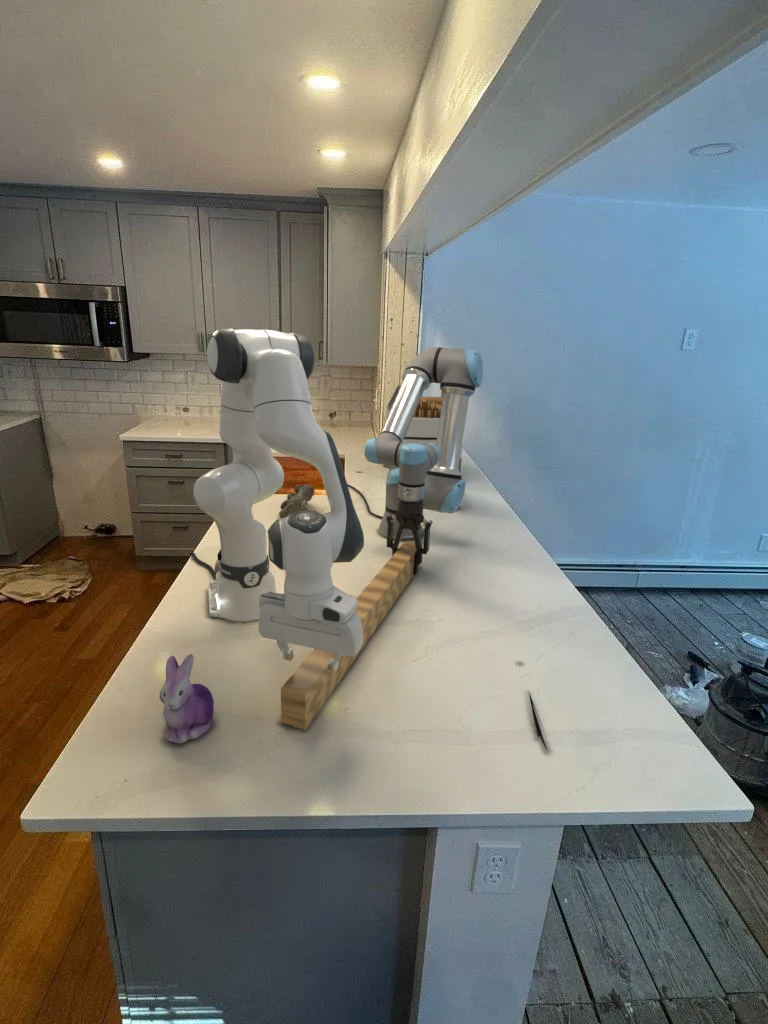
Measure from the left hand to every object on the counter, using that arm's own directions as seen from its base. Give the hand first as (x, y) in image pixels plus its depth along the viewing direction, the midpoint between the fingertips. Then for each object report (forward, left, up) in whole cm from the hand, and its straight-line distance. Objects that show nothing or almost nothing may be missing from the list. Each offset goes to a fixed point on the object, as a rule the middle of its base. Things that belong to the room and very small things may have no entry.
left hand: (310, 663), depth 108 cm
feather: (+18, +41, -10) cm, 46 cm away
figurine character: (-67, +2, -10) cm, 68 cm away
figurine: (-4, -22, -10) cm, 25 cm away
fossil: (-108, +38, -10) cm, 115 cm away
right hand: (-45, +48, -10) cm, 66 cm away
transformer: (-137, +111, -10) cm, 176 cm away
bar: (-22, +24, -10) cm, 34 cm away
